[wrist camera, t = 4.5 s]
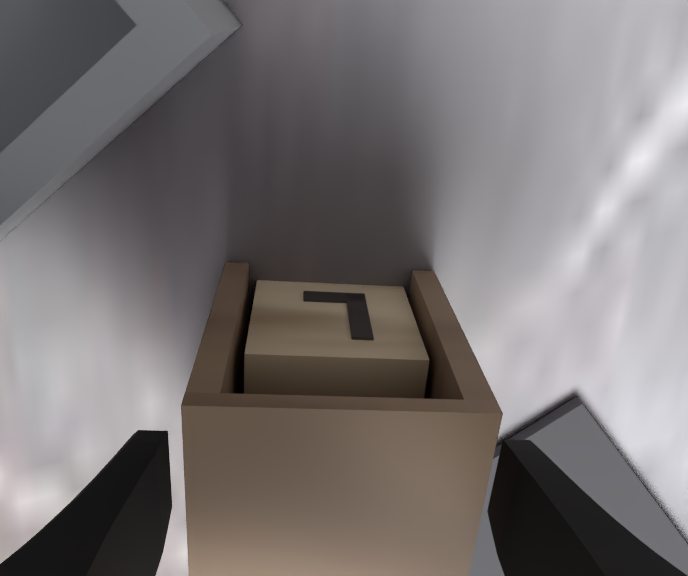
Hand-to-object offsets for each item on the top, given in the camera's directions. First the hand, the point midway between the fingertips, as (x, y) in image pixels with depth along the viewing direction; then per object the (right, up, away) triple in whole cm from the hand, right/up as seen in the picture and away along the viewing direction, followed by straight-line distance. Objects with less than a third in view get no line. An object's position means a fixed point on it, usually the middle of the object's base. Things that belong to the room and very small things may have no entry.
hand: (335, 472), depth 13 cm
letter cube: (0, +2, +4) cm, 5 cm away
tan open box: (0, +2, +4) cm, 5 cm away
